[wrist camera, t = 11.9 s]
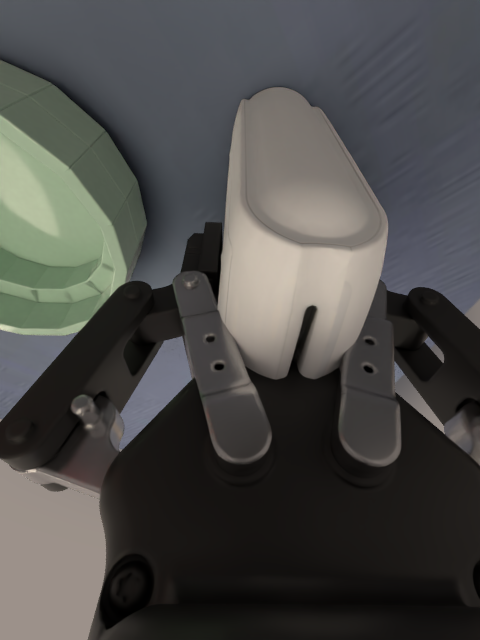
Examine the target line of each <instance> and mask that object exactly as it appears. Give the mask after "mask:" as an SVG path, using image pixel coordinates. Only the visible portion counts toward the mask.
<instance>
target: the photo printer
mask: <svg viewBox="0 0 480 640" xmlns="http://www.w3.org/2000/svg"><path fill="white" fill-rule="evenodd" d="M229 157H230V161H229V171H228V182H227V196H226V211H225V225H224V239H223V251H222V254H221V274H220V285H219V296H218V308H217V310H219V312H220V316H221V319H222V321H223V323H224V324H225V325H226V327H227V329H228V331H229V332H230V333H231V335H232V336H233V337H234V339H235V341H236V344H237V347H238V349H239V352H240V355H241V357H242V360H243V363H244V365H245V366H246V367H248V368H249V369H251V370H252V371H254V372H256V373H258V374H260V375H263V376H265V377H268V378H271V379H276V380H277V379H281V378H284V377H286V376H287V374H288V371H289V368H290V364H291V361H292V360H293V361H294V362H295V363H297V366H298V370H299V372H300V373H301V374H302V375H303V376H304V377H306V378H310V379H317V378H320V377H322V376H325V375H327V374H329V373H331V372H332V371H334V370H335V369H337V368H338V367H339V365H340V362H341V360H342V357H343V355H344V352H345V351H347V350H348V349H349V348H350V347H351V346H352V345H353V344H354V342H355V341H356V340H357V338H358V336H359V334H360V332H361V329H362V327H363V325H364V322H365V319H366V317H367V314H368V312H369V309H370V306H371V304H372V301H373V298H374V295H375V292H376V289H377V286H378V282H379V279H380V275H381V271H382V266H383V261H384V256H385V250H386V244H387V235H388V219H387V216H386V214H385V211H384V209H383V208H382V206H381V205H380V203H379V202H378V200H377V198H376V196H375V194H374V193H373V191H372V189H371V188H370V186H369V184H368V183H367V181H366V179H365V178H364V176H363V175H362V173H361V171H360V170H359V168H358V166H357V165H356V163H355V161H354V160H353V158H352V157H351V155H350V153H349V152H348V150H347V148H346V147H345V145H344V143H343V142H342V140H341V139H340V137H339V135H338V134H337V132H336V131H335V129H334V127H333V126H332V124H331V122H330V121H329V120H328V118H327V117H326V115H325V114H324V112H323V111H322V110H321V109H320V108H319V107H311V106H310V104H309V103H308V101H307V100H306V99H305V98H304V97H303V96H302V95H300V94H299V93H297V92H296V91H294V90H291V89H288V88H284V87H272V88H268V89H265V90H262V91H260V92H258V93H257V94H255V95H254V96H253V97H252V98H251V99H250V100H247V99H242V100H241V102H240V105H239V108H238V112H237V115H236V119H235V124H234V128H233V134H232V142H231V150H230V153H229Z"/></svg>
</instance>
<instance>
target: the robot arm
mask: <svg viewBox="0 0 480 640" xmlns="http://www.w3.org/2000/svg"><path fill="white" fill-rule="evenodd" d="M222 251H223V244H222V223H217V222H206V223H205V228H204V233H194V234H193V235H192V236H191V237H190V238H189V239H188V242H187V246H186V251H185V255H184V260H183V264H182V269H181V273H180V274H178V275H177V276H176V277H175V278H174V279H173V282H172V284H171V285H169V286H166V287H163V288H158V289H153V290H152V288H151V286H150V285H149V284H147V283H145V282H142V281H132V282H128V283H125V284H123V285H121V286H119V287H118V288H117V289H116V290H115V291H114V293H113V294H112V295H111V296H110V297H109V298H108V299H107V301H106V302H105V303H104V304H103V305H102V306H101V307H100V309H99V310H98V311H97V312H96V313H95V314H94V315H93V317H92V318H91V319H90V320H89V321H88V322H87V323H86V325H85V326H84V327H83V328H82V329H81V330H80V331H79V333H78V334H77V335H76V336H75V337H74V338H73V339H72V341H71V342H70V343H69V344H68V345H67V346H66V347H65V349H64V350H63V351H62V352H61V353H60V354H59V355H58V357H57V358H56V359H55V360H54V361H53V362H52V363H51V365H50V366H49V367H48V368H47V369H46V370H45V372H44V373H43V374H42V375H41V376H40V377H39V378H38V380H37V381H36V382H35V383H34V384H33V385H32V386H31V388H30V389H29V390H28V391H27V392H26V393H25V394H24V396H23V397H22V398H21V399H20V400H19V401H18V402H17V404H16V405H15V406H14V407H13V408H12V409H11V410H10V412H9V413H8V414H7V415H6V416H5V417H4V418H3V420H2V421H1V422H0V459H2V460H3V461H5V462H6V463H8V464H9V465H10V466H11V468H12V469H14V470H15V471H17V472H18V473H20V474H21V475H23V476H24V477H26V478H27V479H29V480H31V481H32V482H34V483H36V484H40V485H41V486H43V487H45V488H46V489H48V490H50V491H63V490H65V489H67V488H70V489H73V490H76V491H78V492H81V493H84V494H86V495H89V496H91V497H94V498H97V499H99V500H100V502H99V503H100V515H101V519H102V523H103V527H104V532H105V539H106V569H105V576H104V582H103V586H102V590H101V593H100V597H99V600H98V604H97V608H96V611H95V615H94V619H93V622H92V626H91V629H90V633H89V637H88V640H480V329H479V328H478V327H477V326H475V325H474V324H473V323H472V322H471V321H470V320H469V319H468V318H467V317H466V316H465V315H464V314H463V313H462V312H461V311H459V310H458V309H457V308H456V307H455V306H454V305H453V304H452V303H451V302H450V301H449V300H448V299H447V298H446V297H444V296H443V295H442V294H441V293H439V292H437V291H435V290H433V289H430V288H425V287H417V288H414V289H412V290H411V291H410V292H409V294H408V296H407V295H403V294H398V293H394V292H390V291H388V290H387V288H386V285H385V283H384V282H383V281H382V280H380V279H379V282H378V286H377V289H376V292H375V295H374V298H373V301H372V304H371V306H370V309H369V312H368V314H367V317H366V319H365V322H364V325H363V327H362V329H361V332H360V334H359V336H358V338H357V340H356V341H355V342H354V344H353V345H352V346H351V347H350V348H349V349H348V350H347V351H345V352H344V355H343V357H342V360H341V362H340V365H339V367H338V368H337V369H335V370H334V371H332V372H331V373H329V374H327V375H325V376H322V377H320V378H317V379H310V378H306V377H304V376H303V375H302V374H301V373H300V372H299V370H298V366H297V363H295V362H294V361H293V360H292V361H291V364H290V368H289V371H288V374H287V376H286V377H284V378H281V379H277V380H276V379H271V378H268V377H265V376H263V375H260V374H258V373H256V372H254V371H252V370H251V369H249V368H248V367H246V366H245V365H244V363H243V360H242V357H241V355H240V352H239V349H238V347H237V344H236V341H235V339H234V337H233V336H232V335H231V333H230V332H229V331H228V329H227V327H226V325H225V324H224V323H223V321H222V319H221V316H220V312H219V310H217V308H218V296H219V285H220V274H221V254H222ZM180 336H182V337H183V342H184V346H185V350H186V355H187V359H188V363H189V368H190V373H191V377H192V380H191V381H190V382H189V383H188V384H187V385H186V386H185V387H184V388H183V389H182V390H181V391H180V392H179V393H178V394H177V395H176V396H175V397H174V398H173V399H172V400H171V401H170V402H169V403H168V404H167V405H166V406H165V407H164V408H163V409H162V410H161V411H160V412H159V414H158V415H157V416H156V417H155V418H154V419H153V420H152V421H151V422H150V423H149V424H148V425H147V426H146V427H145V428H144V429H143V430H142V431H141V432H140V433H139V434H138V435H137V436H136V437H135V438H134V439H133V440H132V441H131V442H130V443H129V444H128V445H127V446H126V447H125V448H124V449H123V450H122V451H121V452H120V451H119V445H120V441H121V438H122V436H123V433H124V421H123V419H122V417H121V416H120V413H121V411H122V410H123V408H124V406H125V405H126V403H127V402H128V400H129V398H130V397H131V395H132V393H133V392H134V390H135V388H136V387H137V385H138V383H139V382H140V380H141V378H142V377H143V375H144V374H145V372H146V370H147V369H148V367H149V365H150V364H151V362H152V360H153V359H154V357H155V355H156V354H157V352H158V350H159V349H160V347H161V345H162V344H163V341H164V340H168V339H172V338H176V337H180ZM428 336H429V337H430V338H431V340H432V341H433V342H434V343H435V344H436V345H437V346H438V347H439V348H440V349H441V351H442V352H443V354H444V363H442V362H441V360H440V359H439V358H438V357H437V356H436V355H435V354H434V353H433V351H432V350H431V349H430V348H429V347H428V346H427V345H426V343H425V342H424V341H425V340H426V339H427V337H428ZM394 361H395V362H396V363H397V365H398V366H399V367H400V369H401V370H402V371H403V372H404V374H405V375H406V376H407V378H408V379H409V380H410V382H411V383H412V384H413V386H414V387H415V388H416V390H417V391H418V392H419V393H420V395H421V396H422V397H423V399H424V400H425V402H426V403H427V404H428V405H429V407H430V408H431V409H432V411H433V412H434V413H435V415H436V416H437V417H438V419H439V420H440V421H441V423H442V424H443V425H444V432H445V434H444V433H443V432H441V431H440V430H439V429H438V428H437V427H436V426H434V425H433V424H432V423H431V422H430V421H428V420H427V419H426V418H425V417H424V416H423V415H421V414H420V413H419V412H418V411H417V410H416V409H415V408H413V407H412V406H411V405H410V404H409V403H407V402H406V401H405V400H404V399H403V398H402V397H400V396H399V395H398V394H397V393H396V392H395V370H394Z"/></svg>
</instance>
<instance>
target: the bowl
mask: <svg viewBox="0 0 480 640" xmlns="http://www.w3.org/2000/svg"><path fill="white" fill-rule="evenodd" d="M146 227H147V221H146V216H145V212H144V207H143V203H142V198H141V194H140V189H139V185H138V181H137V179H136V177H135V176H134V174H133V173H132V171H131V170H130V168H129V166H128V165H127V163H126V162H125V160H124V158H123V157H122V155H121V154H120V152H119V150H118V149H117V147H116V146H115V144H114V142H113V141H112V139H111V138H110V136H109V135H108V133H107V132H105V129H104V128H102V127H101V126H100V125H99V124H98V123H97V122H96V121H95V120H93V119H92V118H91V117H90V116H89V115H88V114H87V113H85V112H84V111H83V110H82V109H81V108H80V107H79V106H78V105H76V104H75V103H74V102H73V101H72V100H71V99H70V98H68V97H67V96H66V95H65V94H64V93H63V92H62V91H61V90H59V89H58V88H57V87H56V86H55V85H52V83H50V82H48V81H46V80H44V79H42V78H39V77H37V76H35V75H33V74H30V73H28V72H26V71H24V70H22V69H19V68H17V67H15V66H13V65H11V64H8V63H6V62H4V61H2V60H0V330H5V331H9V332H13V333H17V334H22V335H62V336H64V335H68V334H72V333H75V332H79V331H80V330H81V329H82V328H83V327H84V326H85V325H86V323H87V322H88V321H89V320H90V319H91V318H92V317H93V315H94V314H95V313H96V312H97V311H98V310H99V309H100V307H101V306H102V305H103V304H104V303H105V302H106V301H107V299H108V298H109V297H110V296H111V295H112V294H113V293H114V291H115V290H116V289H117V288H118V287H119V286H121V285H123V284H125V283H128V282H130V279H131V277H132V274H133V271H134V269H135V266H136V264H137V261H138V259H139V256H140V252H141V248H142V244H143V239H144V235H145V231H146Z"/></svg>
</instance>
